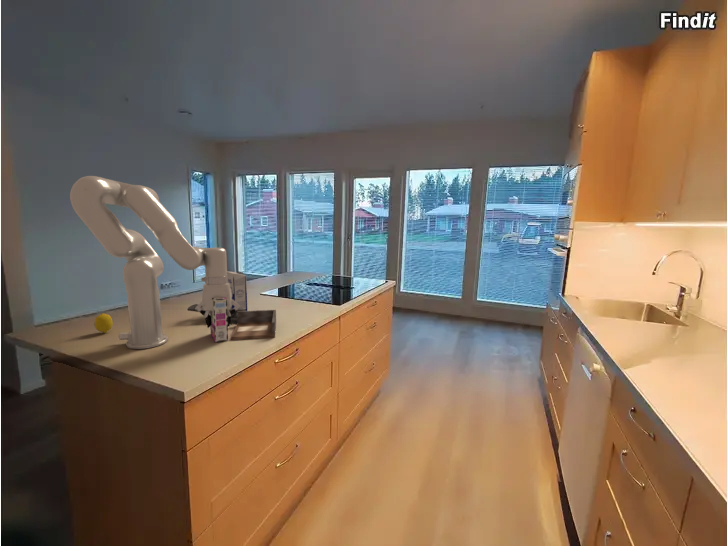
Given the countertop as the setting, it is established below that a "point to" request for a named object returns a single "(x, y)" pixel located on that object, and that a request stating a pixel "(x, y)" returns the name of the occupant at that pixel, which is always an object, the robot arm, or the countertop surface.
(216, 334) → the candy bar box
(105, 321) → the lemon
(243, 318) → the brown square tray
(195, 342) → the countertop surface
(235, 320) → the dark grey spatula
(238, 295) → the milk carton
